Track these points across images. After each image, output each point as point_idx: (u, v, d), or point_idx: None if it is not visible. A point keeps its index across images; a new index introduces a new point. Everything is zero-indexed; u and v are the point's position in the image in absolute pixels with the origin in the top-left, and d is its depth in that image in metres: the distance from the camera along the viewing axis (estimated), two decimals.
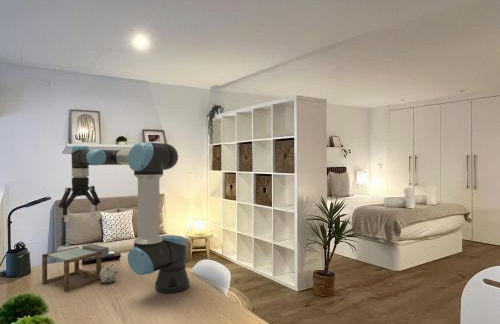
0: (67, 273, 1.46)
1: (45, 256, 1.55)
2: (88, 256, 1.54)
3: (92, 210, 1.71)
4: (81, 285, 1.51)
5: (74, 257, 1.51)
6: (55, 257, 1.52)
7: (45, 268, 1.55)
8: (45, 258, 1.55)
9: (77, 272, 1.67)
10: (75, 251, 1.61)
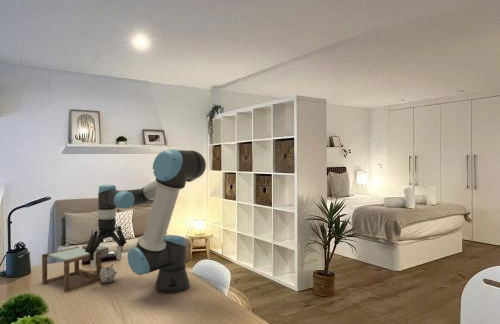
0: (67, 273, 1.46)
1: (45, 256, 1.55)
2: (88, 256, 1.54)
3: (118, 251, 1.62)
4: (81, 285, 1.51)
5: (74, 257, 1.51)
6: (55, 257, 1.52)
7: (45, 268, 1.55)
8: (45, 258, 1.55)
9: (77, 272, 1.67)
10: (75, 251, 1.61)
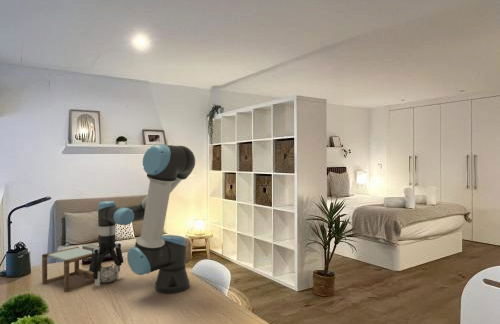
0: (67, 273, 1.46)
1: (45, 256, 1.55)
2: (88, 256, 1.54)
3: (115, 271, 1.60)
4: (81, 285, 1.51)
5: (74, 257, 1.51)
6: (55, 257, 1.52)
7: (45, 268, 1.55)
8: (45, 258, 1.55)
9: (77, 272, 1.67)
10: (75, 251, 1.61)
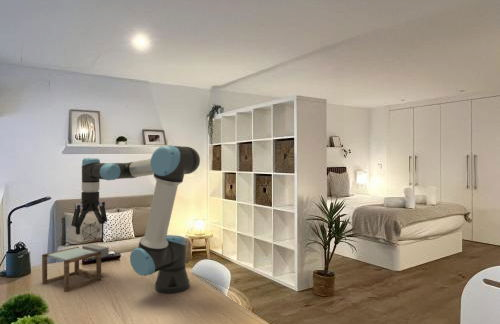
0: (67, 273, 1.46)
1: (45, 256, 1.55)
2: (88, 256, 1.54)
3: None
4: (81, 285, 1.51)
5: (74, 257, 1.51)
6: (55, 257, 1.52)
7: (45, 268, 1.55)
8: (45, 258, 1.55)
9: (77, 272, 1.67)
10: (75, 251, 1.61)
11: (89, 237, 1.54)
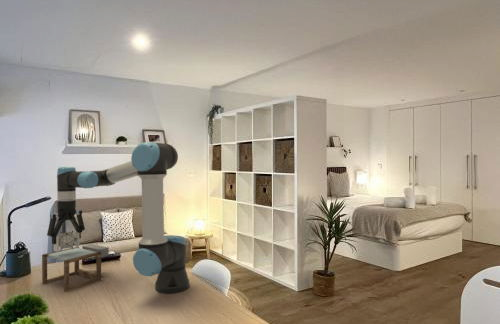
0: (67, 273, 1.46)
1: (45, 256, 1.55)
2: (88, 256, 1.54)
3: None
4: (81, 285, 1.51)
5: (74, 257, 1.51)
6: (55, 257, 1.52)
7: (45, 268, 1.55)
8: (45, 258, 1.55)
9: (77, 272, 1.67)
10: (75, 251, 1.61)
11: (66, 246, 1.53)
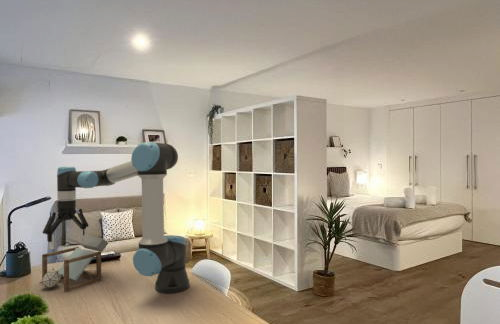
0: (67, 273, 1.46)
1: (45, 256, 1.55)
2: (88, 256, 1.54)
3: (80, 234, 1.61)
4: (81, 285, 1.51)
5: (79, 272, 1.53)
6: None
7: (45, 268, 1.55)
8: (45, 258, 1.55)
9: None
10: None
11: (59, 276, 1.51)
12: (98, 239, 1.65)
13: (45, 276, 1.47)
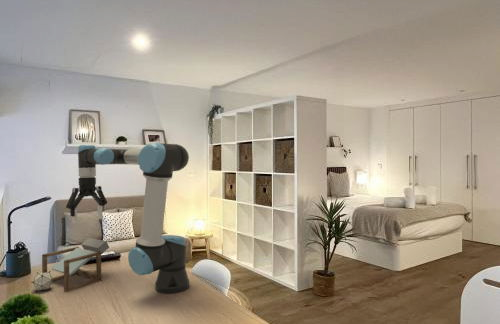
0: (67, 273, 1.46)
1: (45, 256, 1.55)
2: (88, 256, 1.54)
3: (99, 211, 1.67)
4: (81, 285, 1.51)
5: (76, 267, 1.52)
6: (59, 271, 1.53)
7: (45, 268, 1.55)
8: (45, 258, 1.55)
9: (77, 272, 1.67)
10: (76, 255, 1.61)
11: (48, 275, 1.47)
12: (100, 241, 1.66)
13: (35, 285, 1.44)
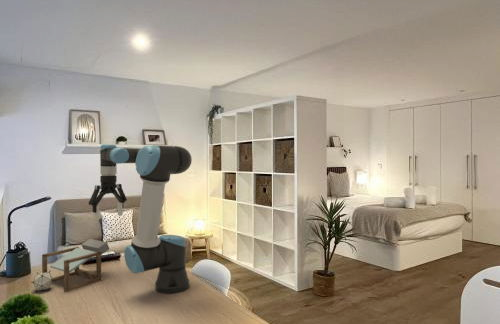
0: (67, 273, 1.46)
1: (45, 256, 1.55)
2: (88, 256, 1.54)
3: (119, 207, 1.74)
4: (81, 285, 1.51)
5: (75, 265, 1.51)
6: (57, 268, 1.53)
7: (45, 268, 1.55)
8: (45, 258, 1.55)
9: (77, 272, 1.67)
10: (75, 254, 1.61)
11: (48, 275, 1.47)
12: (101, 242, 1.66)
13: (35, 285, 1.44)
